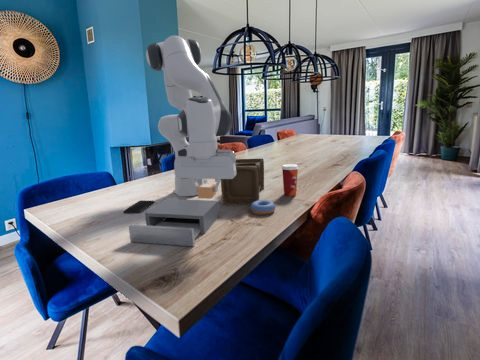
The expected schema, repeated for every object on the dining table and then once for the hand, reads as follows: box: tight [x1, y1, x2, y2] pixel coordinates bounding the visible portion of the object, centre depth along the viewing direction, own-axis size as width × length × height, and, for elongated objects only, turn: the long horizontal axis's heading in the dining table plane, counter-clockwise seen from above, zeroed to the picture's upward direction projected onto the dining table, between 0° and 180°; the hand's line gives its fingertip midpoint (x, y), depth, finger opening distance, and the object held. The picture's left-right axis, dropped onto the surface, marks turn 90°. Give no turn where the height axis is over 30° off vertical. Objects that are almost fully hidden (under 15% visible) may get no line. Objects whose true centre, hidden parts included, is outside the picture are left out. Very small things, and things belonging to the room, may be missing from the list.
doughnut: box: [250, 199, 276, 216], centre depth 118 cm, size 10×10×5 cm
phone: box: [122, 200, 155, 215], centre depth 130 cm, size 8×1×15 cm
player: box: [144, 198, 220, 235], centre depth 109 cm, size 16×22×6 cm
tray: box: [128, 221, 201, 247], centre depth 100 cm, size 16×22×6 cm
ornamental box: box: [220, 158, 265, 206], centre depth 141 cm, size 35×18×18 cm, turn 169°
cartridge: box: [197, 183, 217, 200], centre depth 96 cm, size 5×4×4 cm
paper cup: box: [281, 163, 299, 197], centre depth 137 cm, size 8×8×14 cm
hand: (206, 191), depth 96 cm, fingers closed on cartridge, 5 cm apart
